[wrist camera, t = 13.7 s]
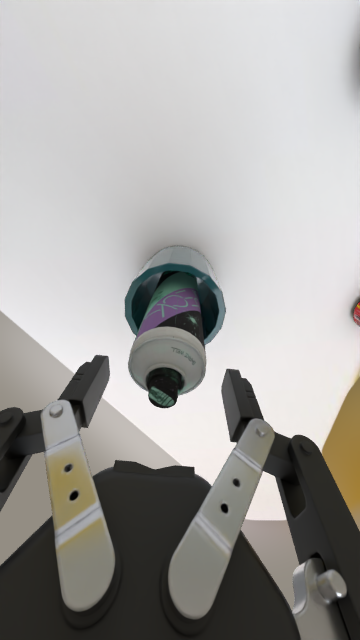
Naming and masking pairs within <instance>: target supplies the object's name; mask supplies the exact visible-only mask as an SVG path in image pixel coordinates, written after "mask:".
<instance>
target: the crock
mask: <svg viewBox="0 0 360 640" xmlns="http://www.w3.org/2000/svg"><path fill="white" fill-rule="evenodd" d="M169 270H172V271H181V272H189V273H191V274H192V275H194V276H195V277H196V280H197V285H198V294H199V302H200V310H201V319H202V327H203V336H204V344H205V345H206V344H208V343H209V342H211V341H212V340H213V338H214V337H215V336H216V334H217V333H218V332H219V330H220V329H221V327H222V325H223V320H224V316H225V312H226V308H225V303H224V299H223V294H222V291H221V288H220V286H219V283H218V281H217V278H216V276H215V273H214V271H213V268H212V267H211V265H210V264H209V262H208V260H207V259H206V258H205V257H204V256H203V255H202V254H201V253H199V252H198V251H196V250H194V249H192V248H189V247H185V246H171V247H167V248H165V249H162V250H160V251H159V252H157V253H156V254H155V255H154V256H153V257H152V258H151V259H150V260H149V261H148V262H147V263H146V265H145V266H144V267H143V269H142V270H141V271H140V273H139V274H138V275H137V277H136V278H135V279H134V281H133V282H132V284H131V286H130V288H129V291H128V293H127V295H126V297H125V317H126V319H127V322H128V324H129V326H130V328H131V330H132V332H133V333H134V334H135V335H136V336H137V333H138V331H139V328H140V326H141V323H142V321H143V318H144V316H145V313H146V311H147V309H148V306H149V304H150V301H151V299H152V296H153V294H154V291H155V289H156V286H157V284H158V281H159V279H160V277H161V275H162V273H163V272H165V271H169Z"/></svg>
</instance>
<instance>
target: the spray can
mask: <svg viewBox="0 0 360 640" xmlns="http://www.w3.org/2000/svg"><path fill="white" fill-rule="evenodd" d="M205 367H206V353H205V344H204V336H203V327H202V319H201V310H200V302H199V294H198V285H197V280H196V277H195V276H194V275H192V274H191V273H189V272H181V271H172V270H169V271H165V272H163V273H162V275H161V277H160V279H159V281H158V284H157V286H156V289H155V291H154V294H153V296H152V299H151V301H150V304H149V306H148V309H147V311H146V313H145V316H144V318H143V321H142V323H141V326H140V328H139V331H138V333H137V336H136V338H135V341H134V343H133V346H132V348H131V352H130V357H129V362H128V369H129V372H130V375H131V377H132V379H133V380H134V381H135V382H136V384H137V385H139V386H140V387H141V388H142V389H144V390H146V391H148V392H149V394H148V396H149V400H150V402H151V403H152V404H153V405H154V406H156V407H160V408H169V407H172V406H173V405H175V403H176V402H177V398H178V395H183V394H186V393H188V392H190V391H192V390H194V389H195V388H196V387H197V386H199V384H200V383H201V382H202V380H203V378H204V376H205V371H206V368H205Z"/></svg>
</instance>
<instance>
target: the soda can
mask: <svg viewBox="0 0 360 640" xmlns="http://www.w3.org/2000/svg"><path fill="white" fill-rule="evenodd" d="M353 318H354V321H355V323H356V324H357V325H358V326H359V327H360V302H359V303H358V304H357V306H356V308H355V310H354V314H353Z"/></svg>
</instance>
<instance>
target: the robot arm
mask: <svg viewBox="0 0 360 640" xmlns="http://www.w3.org/2000/svg"><path fill="white" fill-rule="evenodd" d="M109 376H110V370H109V358H108V356H102V355H96V356H95V357H94V358H93V360H92V362H86V363H84V364H83V365H82V366H80V367H79V369H78V370H77V372H76V373H75V375H74V376H73V378H72V380H71V381H70V382H69V384H68V385H67V387H66V388H65V390H64V391H63V393H62V394H61V396H60V398H59V399H58V400H57V401H54V402H52V403H50V404H48V405H47V406H46V407H45V408H44V409H43V410H39V411H34V412H28V413H23V411H22V410H21V409H20V408H16V407H13V408H7V409H5V410H2V411H0V511H1V509H2V508H3V506H4V504H5V502H6V501H7V499H8V497H9V495H10V493H11V492H12V490H13V488H14V486H15V485H16V483H17V481H18V479H19V477H20V476H21V474H22V472H23V470H24V469H25V466H26V465H27V463H28V461H29V460H30V458H31V456H32V454H35V453H40V452H44V456H45V464H46V471H47V479H48V486H49V493H50V500H51V507H52V516H51V517H50V518H49V519H48V520H47V521H46V522H45V523H44V524H43V525H42V526H41V527H40V528H39V529H38V530H37V531H36V532H35V533H33V534H32V535H31V537H29V538H28V539H27V540H26V541H25V542H24V543H23V544H22V545H21V546H20V547H19V548H18V549H17V550H16V551H15V552H14V553H13V554H12V555H11V556H10V557H9V558H8V559H7V560H6V561H5V562H4V563H3V564H1V566H0V640H360V531H359V529H358V527H357V525H356V523H355V521H354V519H353V517H352V515H351V513H350V511H349V509H348V507H347V505H346V503H345V501H344V499H343V497H342V495H341V493H340V491H339V488H338V487H337V485H336V483H335V480H334V479H333V477H332V474H331V472H330V470H329V468H328V466H327V464H326V462H325V460H324V458H323V456H322V454H321V452H320V450H319V448H318V447H317V445H316V444H315V443H314V442H313V441H312V440H310V439H309V438H307V437H305V436H303V435H295V436H293V437H292V439H291V438H288V437H286V436H283V435H281V434H278V433H276V432H275V431H274V430H273V429H272V427H271V426H270V425H269V424H268V423H267V422H266V421H264V418H263V416H262V413H261V410H260V407H259V405H258V402H257V399H256V396H255V394H254V391H253V388H252V385H251V384H250V383H249V381H248V380H247V379H246V378H241V375H240V372H239V370H234V369H227V370H226V373H225V376H224V380H223V383H222V390H221V391H222V398H223V404H224V409H225V414H226V420H227V425H228V430H229V436H230V441H231V442H237V445H236V446H235V448H234V449H233V450H232V452H231V454H230V456H229V457H228V459H227V461H226V463H225V464H224V466H223V468H222V470H221V472H220V473H219V475H218V477H217V479H216V480H215V482H214V484H213V486H211V485H210V484H209V483H208V482H207V481H206V480H205V479H203V478H202V477H200V476H199V475H196V474H195V471H194V467H187V466H170V467H165V468H161V469H156V470H155V469H151V468H149V467H146V466H144V465H141V464H139V463H137V462H131V461H119V460H115V464H114V467H111V468H107V469H105V470H103V471H101V472H99V473H97V474H96V475H94V476H93V477H92V474H91V470H90V467H89V464H88V460H87V457H86V453H85V450H84V447H83V443H82V439H81V436H80V434H79V431H80V429H81V427H84V428H88V426H89V424H90V421H91V419H92V417H93V414H94V412H95V410H96V408H97V405H98V404H99V401H100V399H101V397H102V395H103V392H104V390H105V388H106V386H107V383H108V381H109ZM263 471H265V472H267V473H269V474H271V475H274V476H275V478H276V482H277V485H278V489H279V492H280V496H281V500H282V503H283V507H284V510H285V514H286V518H287V521H288V525H289V528H290V532H291V535H292V539H293V543H294V546H295V550H296V553H297V557H298V561H299V564H300V566H298V567H297V568H296V569H295V571H294V574H293V588H294V596H295V602H294V608H293V610H292V611H291V609H290V606H289V604H288V602H287V601H286V599H285V597H284V595H283V594H282V592H281V590H280V589H279V587H278V586H277V584H276V583H275V581H274V580H273V578H272V577H271V575H270V574H269V572H268V571H267V569H266V567H265V566H264V565H263V563H262V561H261V560H260V558H259V557H258V555H257V554H256V552H255V551H254V549H253V548H252V546H251V545H250V543H249V541H248V540H247V539H246V537H245V535H244V534H243V532H242V531H241V527H242V524H243V521H244V519H245V516H246V514H247V511H248V509H249V506H250V504H251V501H252V498H253V496H254V493H255V491H256V488H257V485H258V483H259V480H260V478H261V475H262V472H263Z"/></svg>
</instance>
